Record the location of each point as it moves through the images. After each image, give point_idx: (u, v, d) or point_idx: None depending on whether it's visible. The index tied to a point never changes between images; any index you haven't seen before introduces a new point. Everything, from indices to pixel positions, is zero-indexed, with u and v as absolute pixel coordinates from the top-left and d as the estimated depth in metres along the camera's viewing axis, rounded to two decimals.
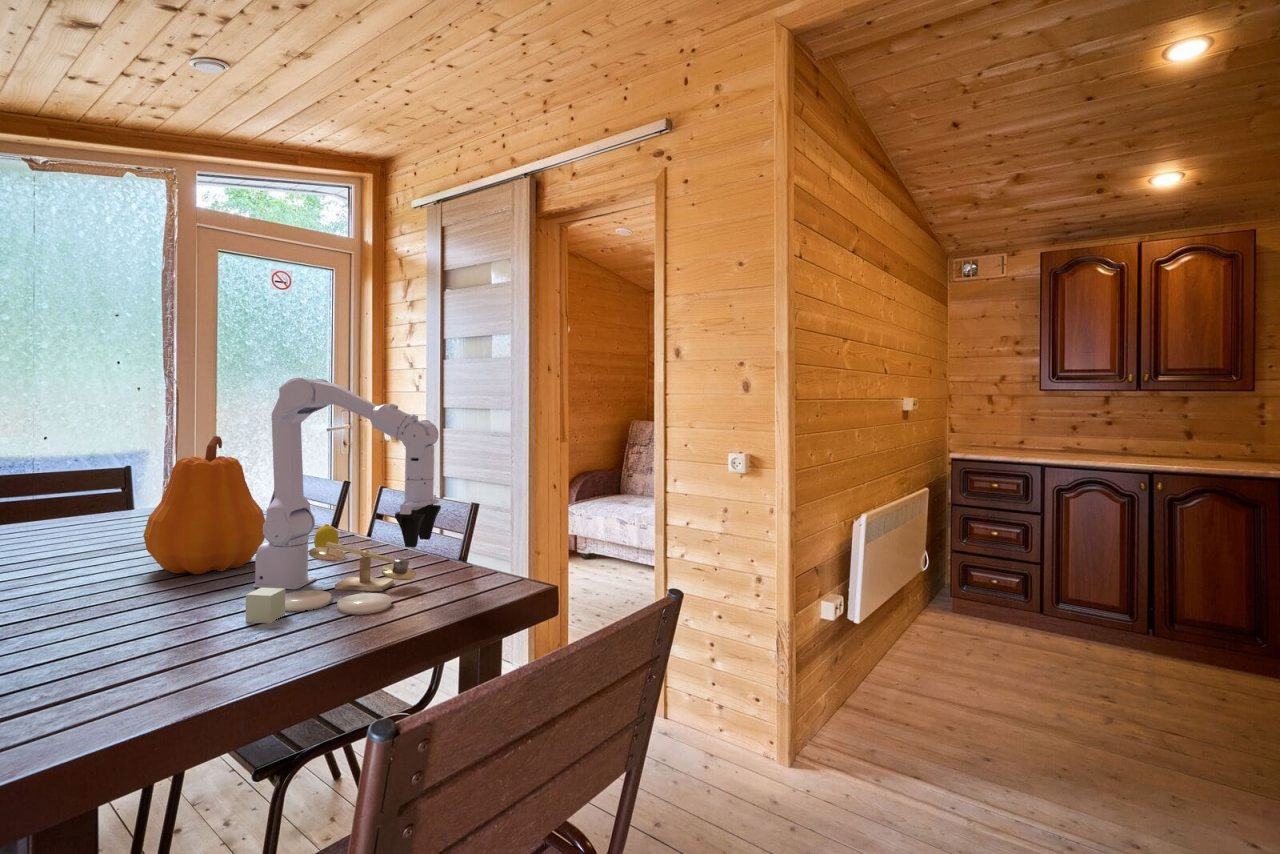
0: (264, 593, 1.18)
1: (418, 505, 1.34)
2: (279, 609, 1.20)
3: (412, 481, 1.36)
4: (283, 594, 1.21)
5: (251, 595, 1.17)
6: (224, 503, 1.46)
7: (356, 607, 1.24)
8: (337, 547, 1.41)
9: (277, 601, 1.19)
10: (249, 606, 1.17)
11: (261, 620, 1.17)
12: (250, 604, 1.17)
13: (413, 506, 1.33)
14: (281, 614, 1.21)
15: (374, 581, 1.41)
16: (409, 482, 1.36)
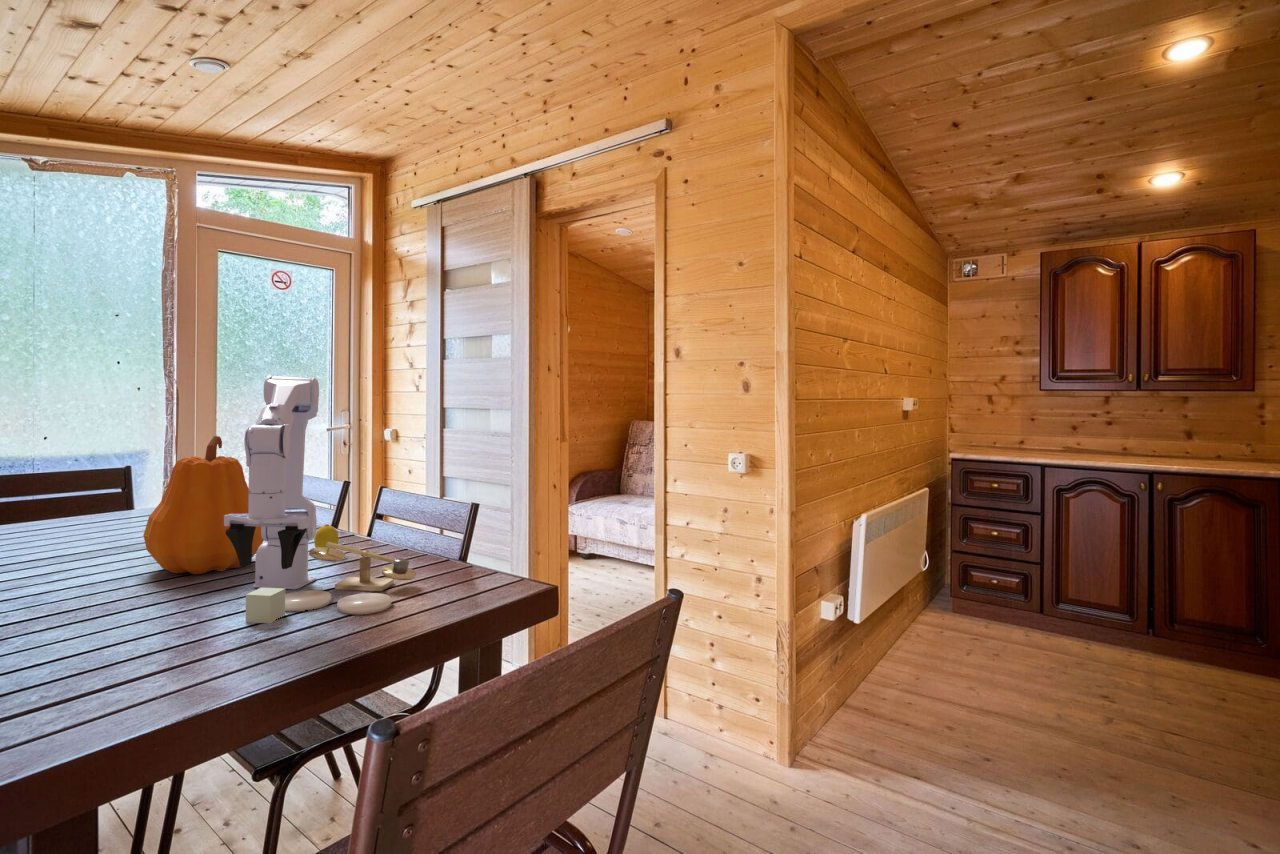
0: (264, 593, 1.18)
1: (237, 519, 1.17)
2: (279, 609, 1.20)
3: None
4: (283, 594, 1.21)
5: (251, 595, 1.17)
6: (224, 503, 1.46)
7: (356, 607, 1.24)
8: (337, 547, 1.41)
9: (277, 601, 1.19)
10: (249, 606, 1.17)
11: (261, 620, 1.17)
12: (250, 604, 1.17)
13: (231, 518, 1.18)
14: (281, 614, 1.21)
15: (374, 581, 1.41)
16: None
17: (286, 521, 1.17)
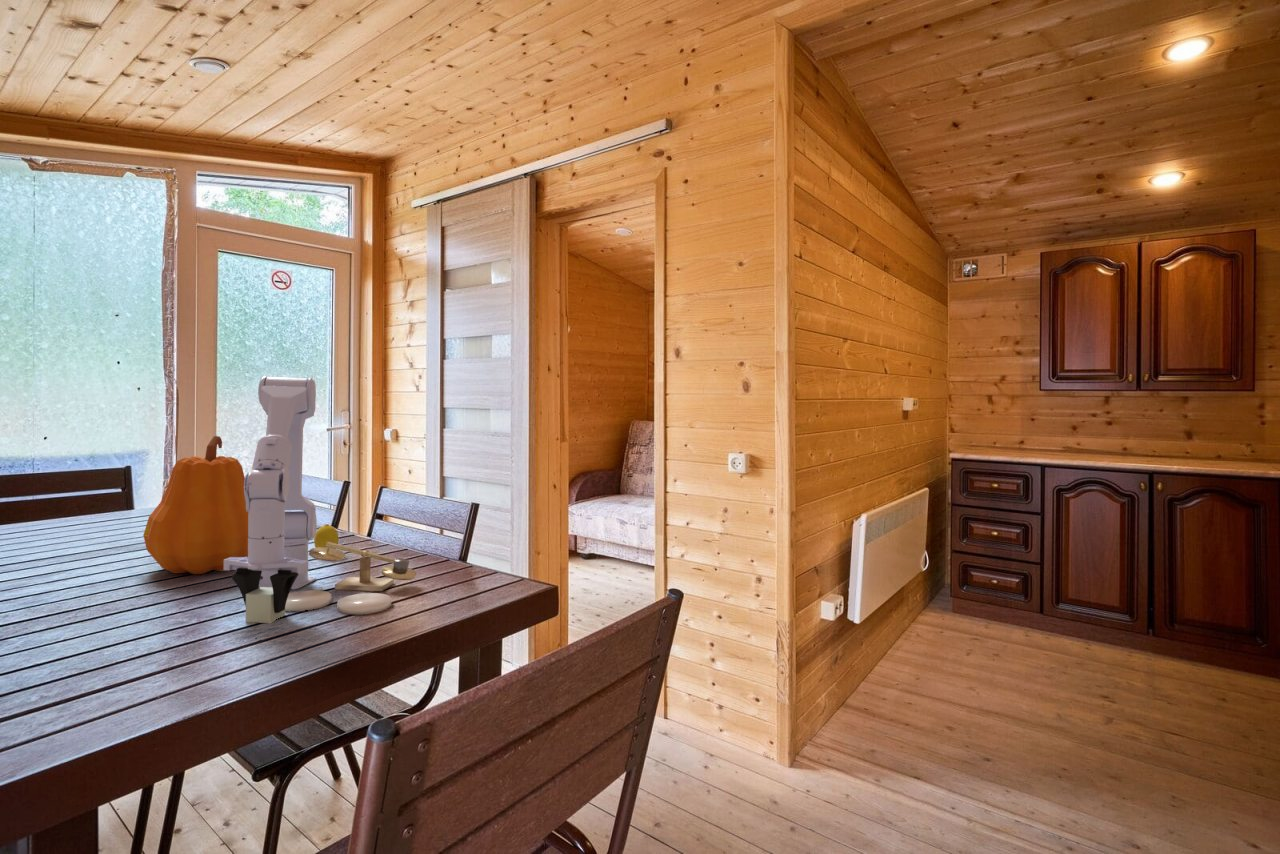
0: (264, 593, 1.18)
1: (236, 564, 1.18)
2: None
3: None
4: None
5: (251, 595, 1.17)
6: (224, 503, 1.46)
7: (356, 607, 1.24)
8: (337, 547, 1.41)
9: None
10: (249, 606, 1.17)
11: (261, 620, 1.17)
12: (251, 603, 1.17)
13: (230, 563, 1.18)
14: (281, 614, 1.21)
15: (374, 581, 1.41)
16: None
17: (285, 566, 1.17)
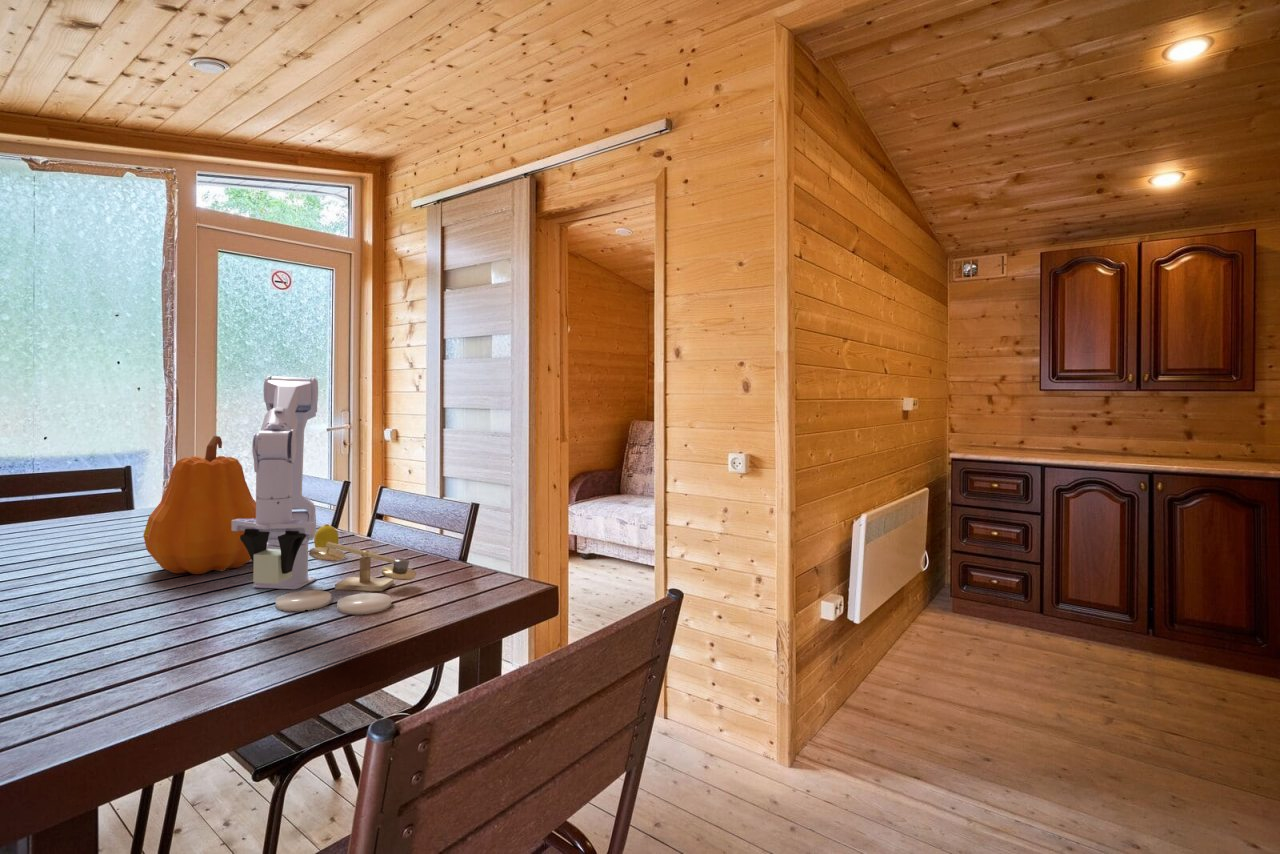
0: (272, 554, 1.18)
1: (244, 524, 1.18)
2: None
3: None
4: None
5: (259, 555, 1.18)
6: (224, 503, 1.46)
7: (356, 607, 1.24)
8: (337, 547, 1.41)
9: None
10: (257, 566, 1.18)
11: (269, 580, 1.18)
12: (258, 564, 1.18)
13: (238, 523, 1.19)
14: (288, 575, 1.21)
15: (374, 581, 1.41)
16: None
17: (293, 526, 1.18)
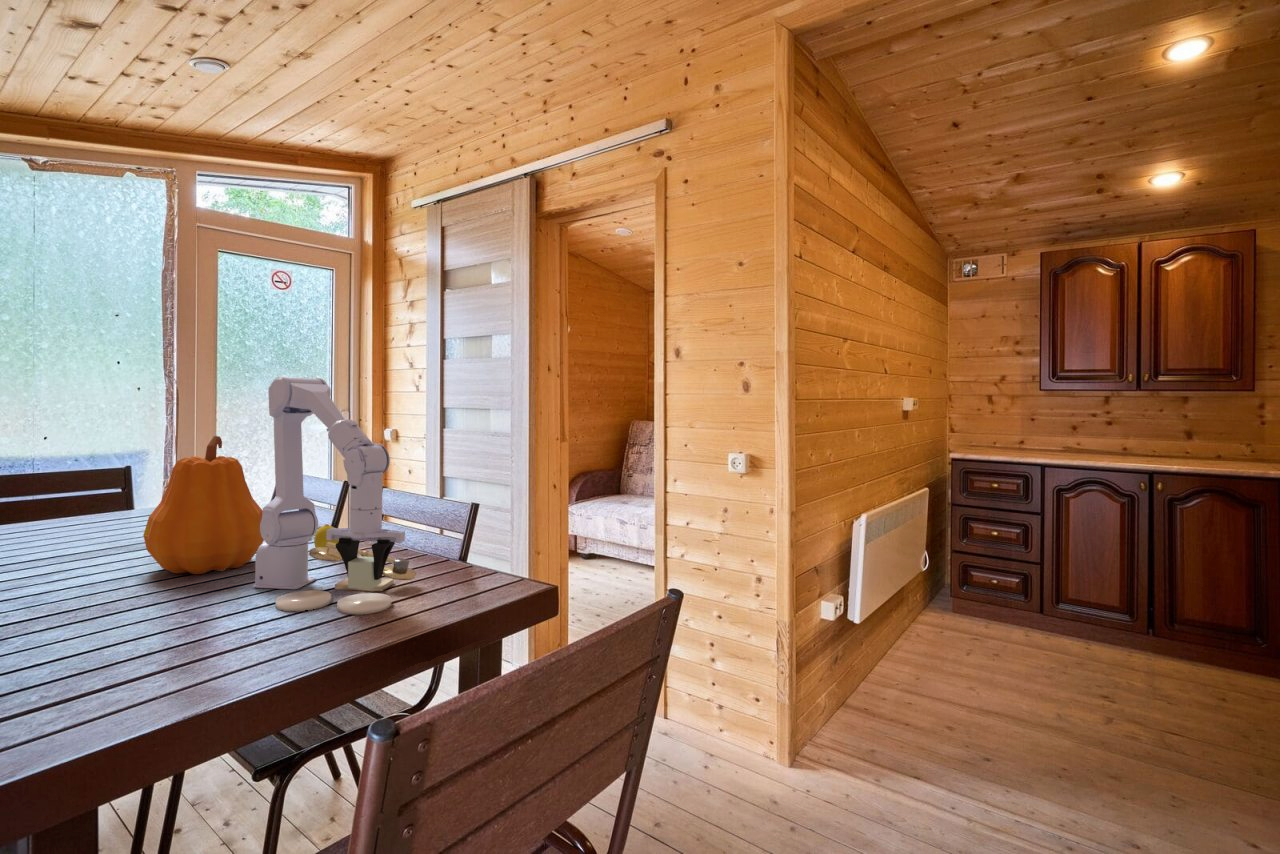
0: (365, 561, 1.26)
1: (339, 534, 1.26)
2: None
3: None
4: None
5: (353, 562, 1.25)
6: (224, 503, 1.46)
7: (356, 607, 1.24)
8: None
9: None
10: (351, 573, 1.25)
11: (362, 586, 1.25)
12: (353, 570, 1.25)
13: (333, 533, 1.26)
14: (378, 581, 1.29)
15: None
16: None
17: (385, 535, 1.26)
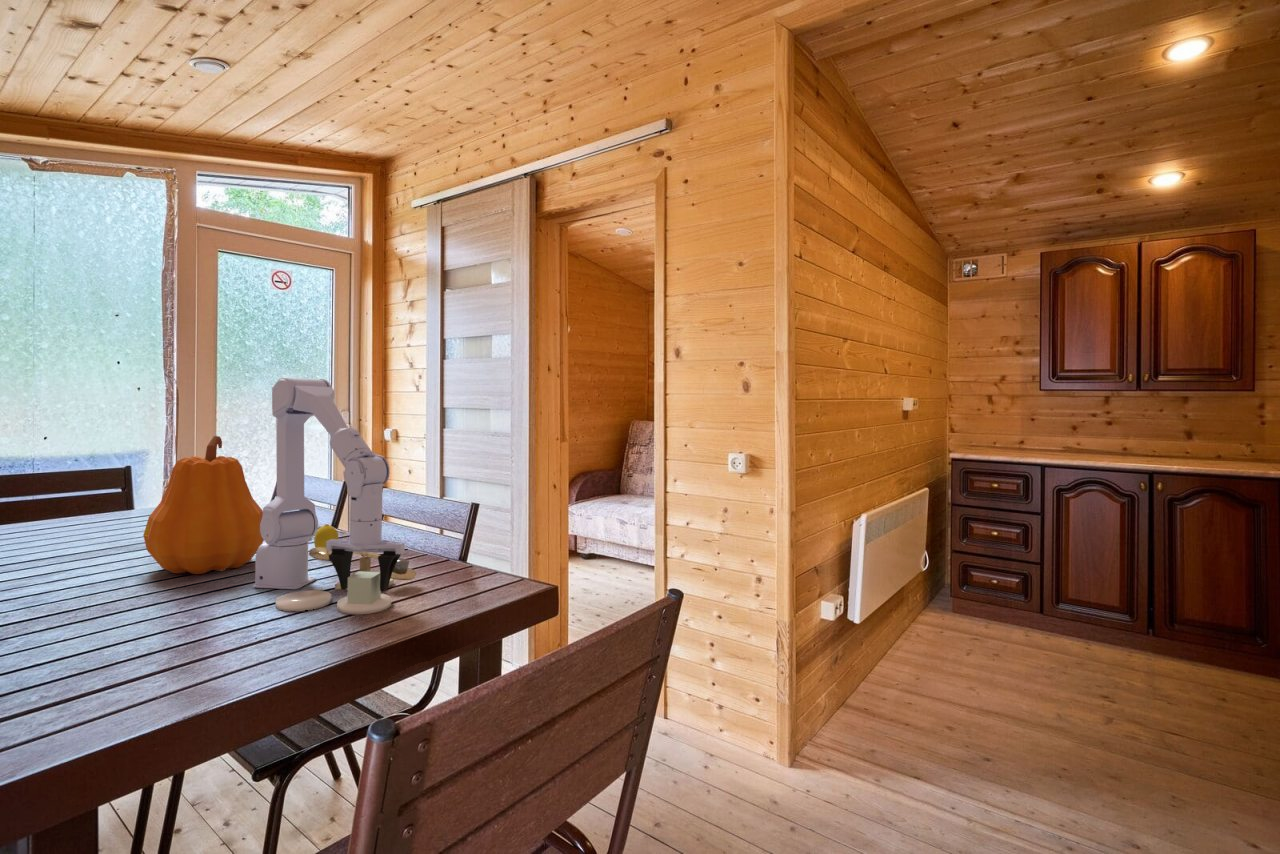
0: (364, 576, 1.26)
1: (339, 545, 1.26)
2: (377, 591, 1.28)
3: None
4: None
5: (353, 578, 1.26)
6: (224, 503, 1.46)
7: (356, 607, 1.24)
8: None
9: (375, 584, 1.27)
10: (351, 588, 1.26)
11: (362, 601, 1.26)
12: (352, 586, 1.26)
13: (333, 544, 1.27)
14: (378, 596, 1.29)
15: None
16: None
17: (385, 547, 1.26)
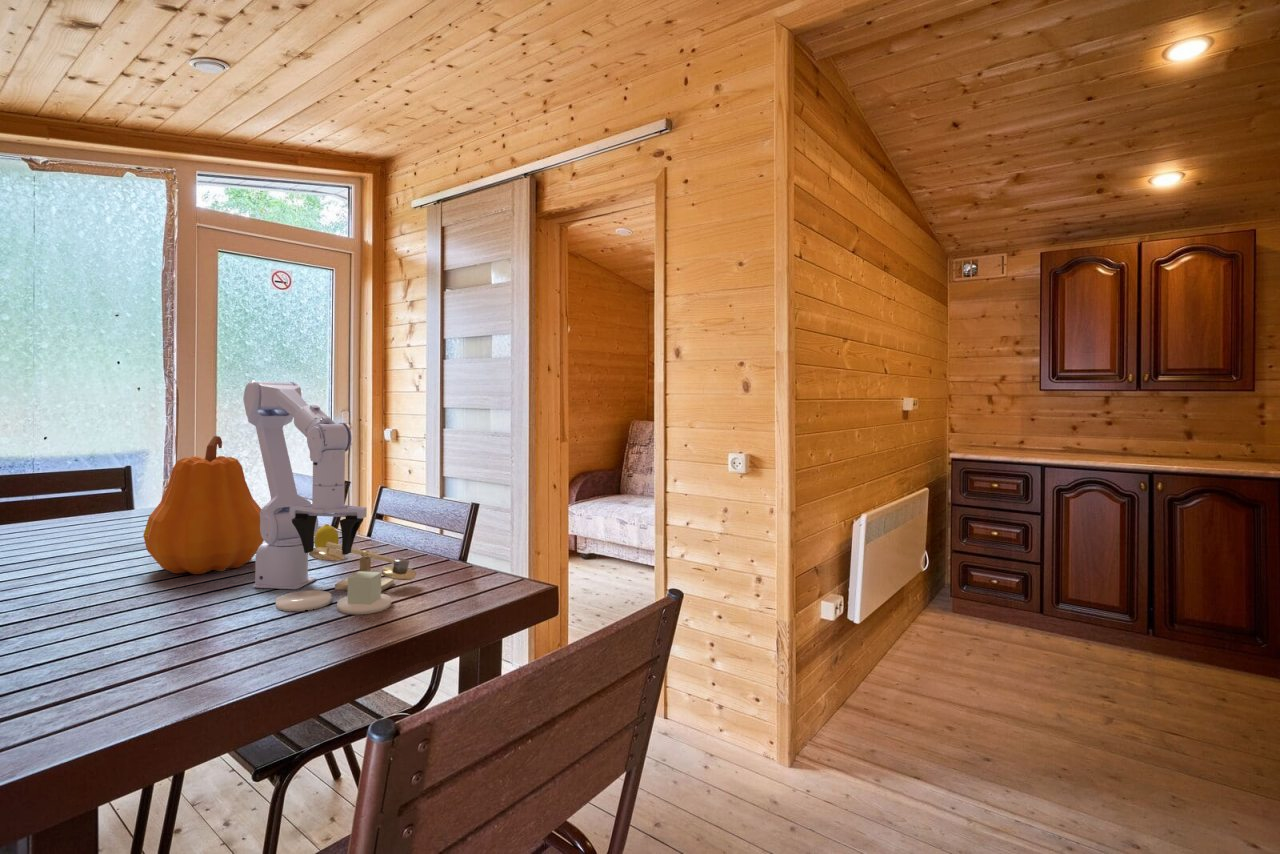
0: (364, 576, 1.26)
1: (302, 509, 1.29)
2: (377, 591, 1.28)
3: None
4: (380, 577, 1.29)
5: (353, 578, 1.26)
6: (224, 503, 1.46)
7: (356, 607, 1.24)
8: (337, 547, 1.41)
9: (375, 584, 1.27)
10: (351, 588, 1.26)
11: (362, 601, 1.26)
12: (352, 586, 1.26)
13: (296, 508, 1.30)
14: (378, 596, 1.29)
15: None
16: None
17: (347, 511, 1.29)
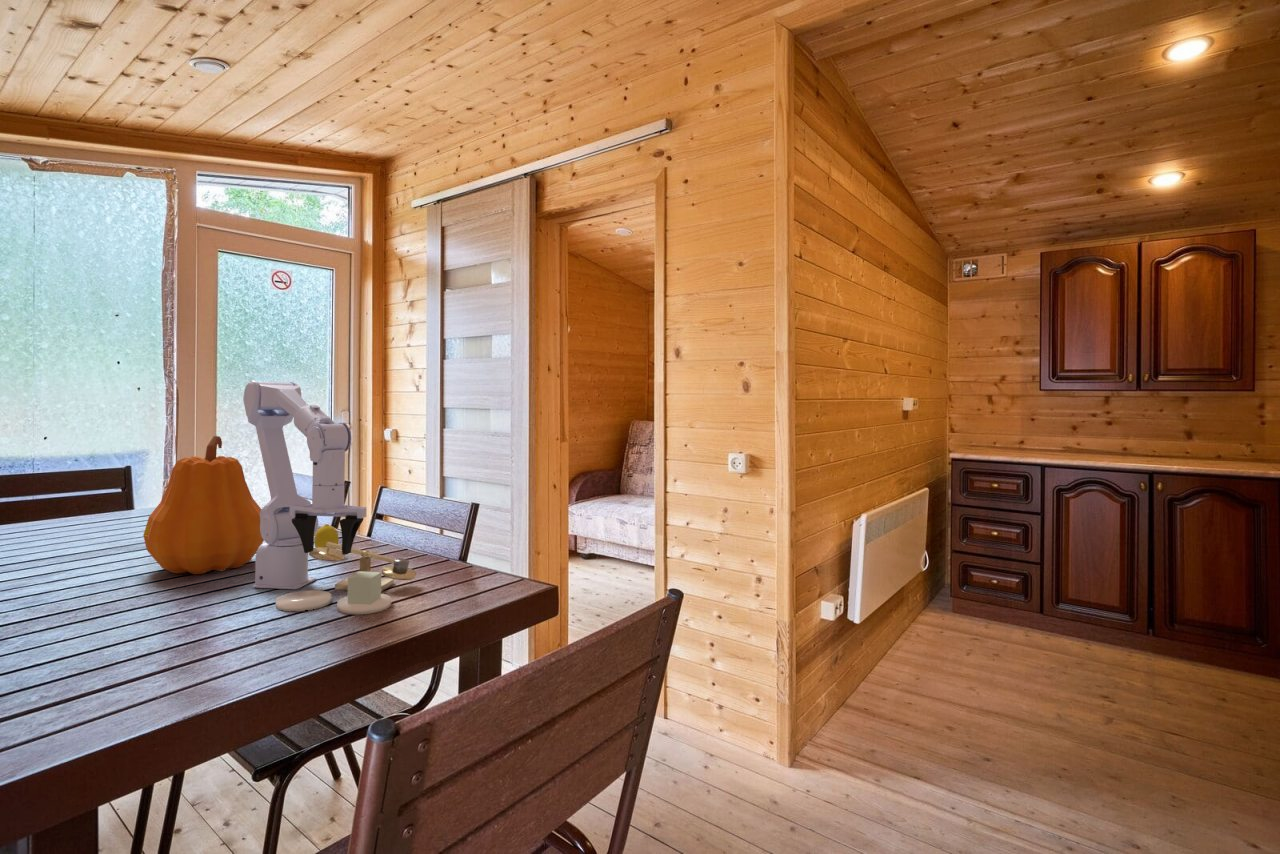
0: (364, 576, 1.26)
1: (301, 509, 1.29)
2: (377, 591, 1.28)
3: None
4: (380, 577, 1.29)
5: (353, 578, 1.26)
6: (224, 503, 1.46)
7: (356, 607, 1.24)
8: (337, 547, 1.41)
9: (375, 584, 1.27)
10: (351, 588, 1.26)
11: (362, 601, 1.26)
12: (352, 586, 1.26)
13: (296, 508, 1.30)
14: (378, 596, 1.29)
15: None
16: None
17: (347, 511, 1.29)
